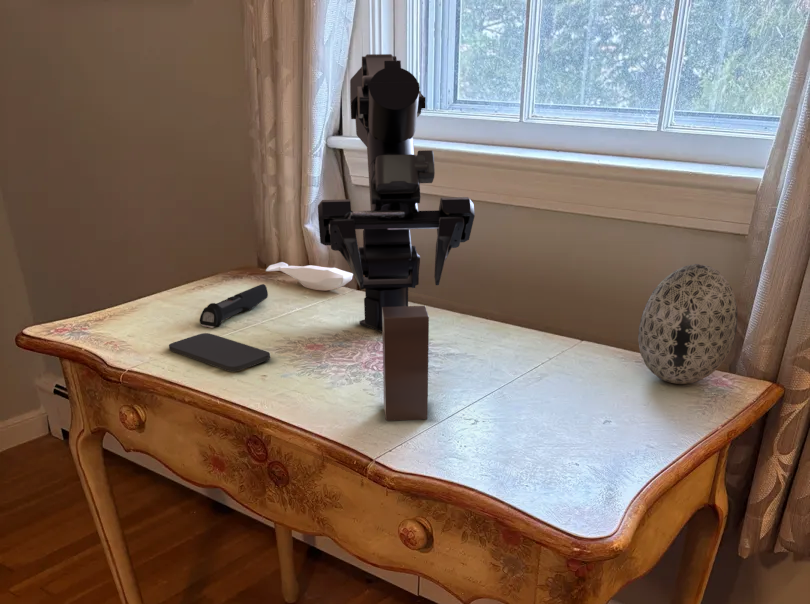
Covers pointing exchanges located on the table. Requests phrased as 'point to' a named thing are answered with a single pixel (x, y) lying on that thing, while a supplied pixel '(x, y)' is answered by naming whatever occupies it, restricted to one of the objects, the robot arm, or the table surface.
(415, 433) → the table surface
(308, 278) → the white fish figurine
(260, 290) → the electric trimmer
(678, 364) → the decorative egg
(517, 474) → the table surface
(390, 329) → the walnut block
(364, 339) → the table surface
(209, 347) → the phone
